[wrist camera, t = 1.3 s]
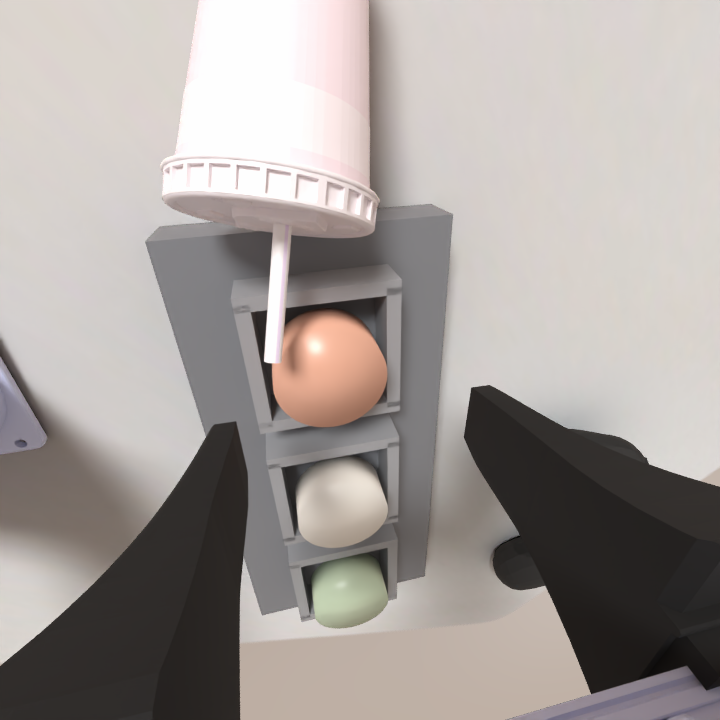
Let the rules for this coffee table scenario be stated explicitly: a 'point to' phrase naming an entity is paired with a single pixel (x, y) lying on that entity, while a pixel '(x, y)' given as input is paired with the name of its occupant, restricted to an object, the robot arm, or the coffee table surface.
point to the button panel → (255, 384)
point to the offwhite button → (340, 502)
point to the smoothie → (277, 128)
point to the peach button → (328, 369)
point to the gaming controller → (513, 555)
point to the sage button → (348, 591)
